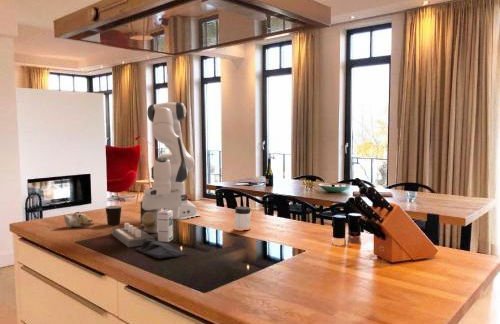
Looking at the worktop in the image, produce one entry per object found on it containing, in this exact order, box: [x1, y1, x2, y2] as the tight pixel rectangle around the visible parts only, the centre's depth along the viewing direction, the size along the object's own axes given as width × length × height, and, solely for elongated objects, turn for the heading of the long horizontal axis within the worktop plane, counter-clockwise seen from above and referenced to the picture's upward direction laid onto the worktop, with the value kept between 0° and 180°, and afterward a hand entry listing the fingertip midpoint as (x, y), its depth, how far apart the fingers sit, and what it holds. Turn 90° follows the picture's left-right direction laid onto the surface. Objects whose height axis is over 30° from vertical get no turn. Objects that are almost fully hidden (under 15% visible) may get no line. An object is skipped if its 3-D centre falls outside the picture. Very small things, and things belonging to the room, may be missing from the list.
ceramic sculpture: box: [63, 211, 95, 229], centre depth 226 cm, size 11×9×15 cm
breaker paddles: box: [123, 222, 141, 238], centre depth 202 cm, size 2×20×3 cm, turn 34°
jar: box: [233, 206, 252, 229], centre depth 225 cm, size 9×8×12 cm
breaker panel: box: [111, 225, 155, 248], centre depth 202 cm, size 12×26×3 cm, turn 34°
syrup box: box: [157, 209, 174, 243], centre depth 201 cm, size 6×6×14 cm
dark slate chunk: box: [135, 239, 186, 259], centre depth 181 cm, size 15×22×5 cm
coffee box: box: [139, 200, 158, 234], centre depth 218 cm, size 9×6×16 cm
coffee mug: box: [105, 205, 123, 227], centre depth 234 cm, size 12×9×10 cm
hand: (162, 217), depth 210 cm, fingers closed
